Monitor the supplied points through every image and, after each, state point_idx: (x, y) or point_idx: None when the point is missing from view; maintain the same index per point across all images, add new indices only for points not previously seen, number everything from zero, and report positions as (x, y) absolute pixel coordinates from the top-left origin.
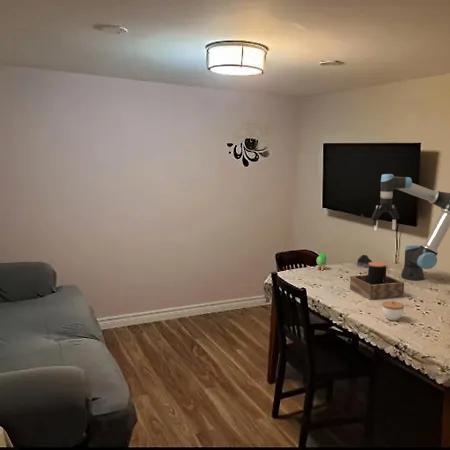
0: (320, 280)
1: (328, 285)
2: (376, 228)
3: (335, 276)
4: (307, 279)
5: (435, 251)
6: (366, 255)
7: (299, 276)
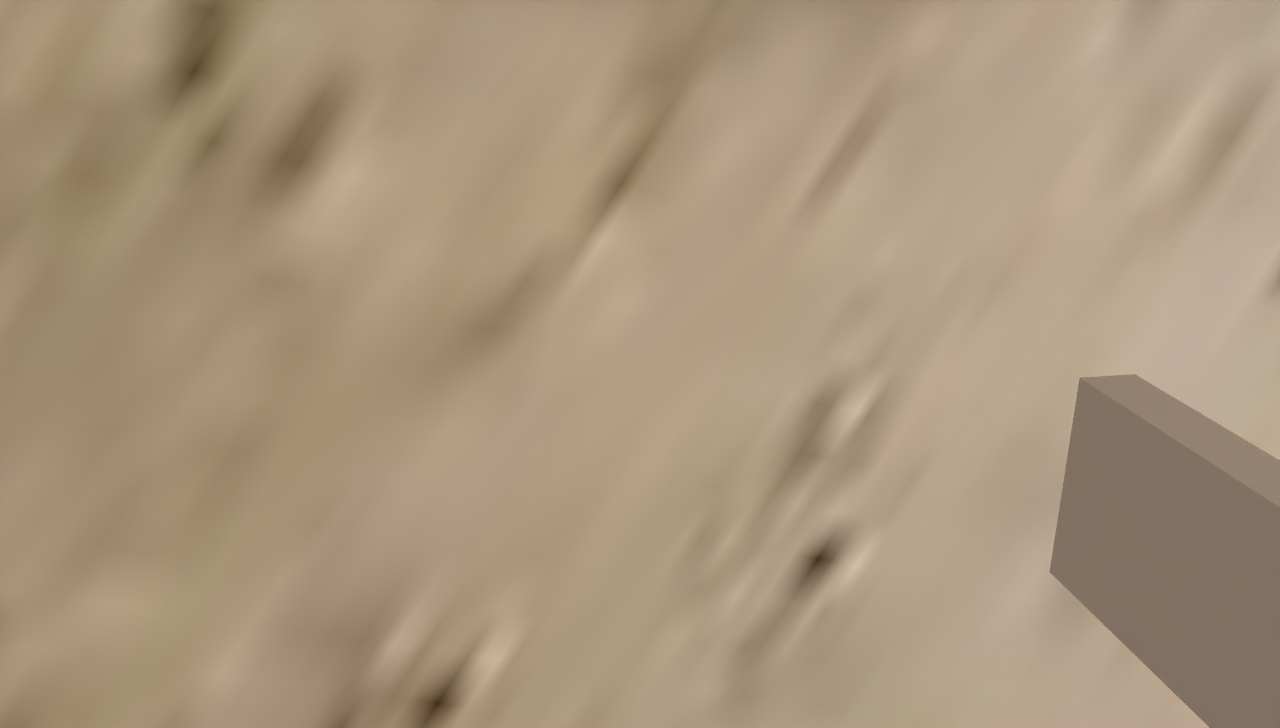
0: None
1: (1208, 231)
2: (1210, 424)
3: (864, 610)
4: None
5: None
6: None
7: None
